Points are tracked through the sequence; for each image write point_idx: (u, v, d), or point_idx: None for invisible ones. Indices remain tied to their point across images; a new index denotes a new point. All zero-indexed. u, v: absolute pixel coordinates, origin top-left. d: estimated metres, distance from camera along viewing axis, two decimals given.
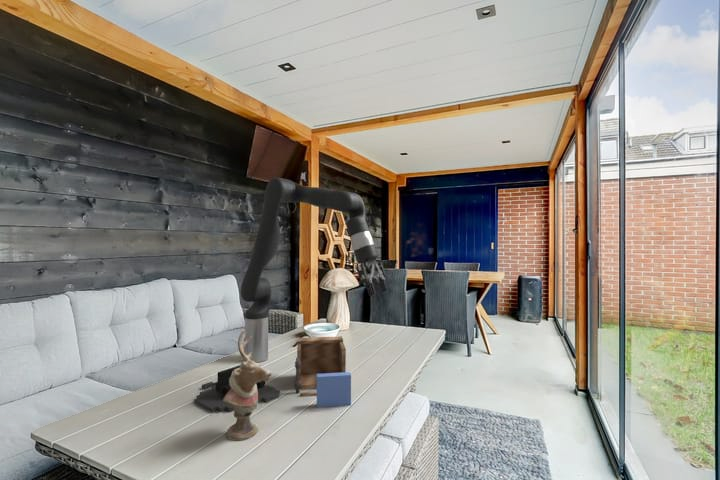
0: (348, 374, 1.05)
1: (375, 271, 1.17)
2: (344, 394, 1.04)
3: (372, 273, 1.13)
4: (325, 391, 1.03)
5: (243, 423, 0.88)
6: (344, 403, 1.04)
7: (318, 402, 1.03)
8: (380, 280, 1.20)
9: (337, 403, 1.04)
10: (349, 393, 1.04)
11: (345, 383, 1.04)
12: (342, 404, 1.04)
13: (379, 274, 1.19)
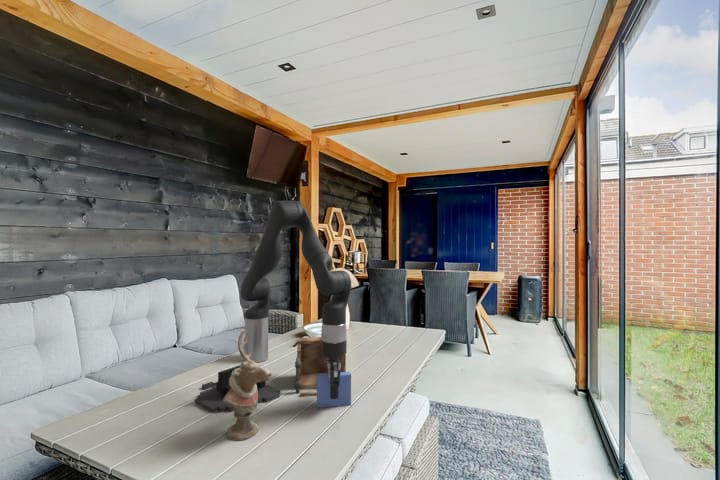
0: (348, 374, 1.05)
1: None
2: (344, 394, 1.04)
3: None
4: (325, 390, 1.03)
5: (243, 423, 0.88)
6: (344, 403, 1.04)
7: (318, 402, 1.03)
8: None
9: (337, 403, 1.04)
10: (349, 393, 1.04)
11: (345, 383, 1.04)
12: (342, 404, 1.04)
13: None
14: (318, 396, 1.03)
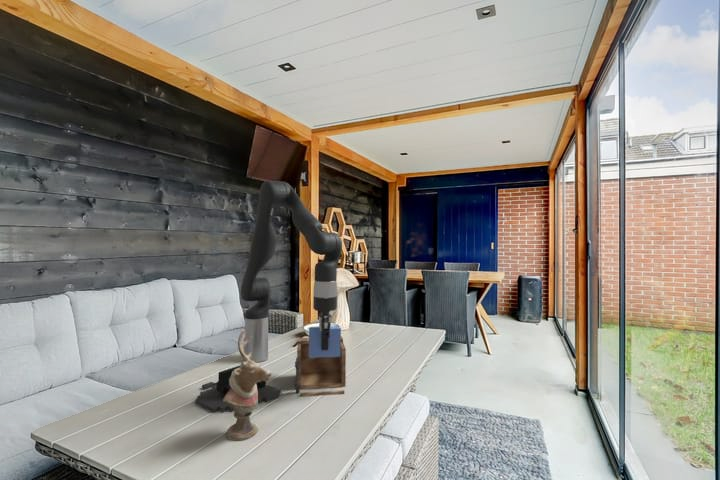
0: (338, 328, 1.13)
1: None
2: (334, 346, 1.12)
3: (330, 327, 1.12)
4: (317, 342, 1.11)
5: (243, 423, 0.88)
6: (334, 354, 1.12)
7: (310, 352, 1.11)
8: None
9: (327, 354, 1.12)
10: (339, 345, 1.12)
11: (335, 336, 1.12)
12: (332, 355, 1.12)
13: None
14: (310, 347, 1.11)
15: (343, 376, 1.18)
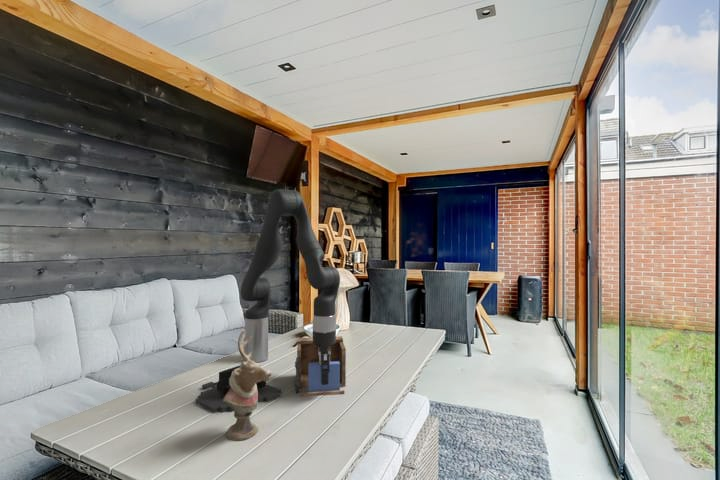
0: (337, 363, 1.14)
1: None
2: (333, 381, 1.14)
3: None
4: (316, 378, 1.13)
5: (243, 423, 0.88)
6: (333, 389, 1.14)
7: (309, 388, 1.12)
8: None
9: (327, 389, 1.13)
10: (338, 380, 1.14)
11: (334, 371, 1.14)
12: (331, 390, 1.13)
13: None
14: (309, 383, 1.12)
15: (343, 376, 1.18)
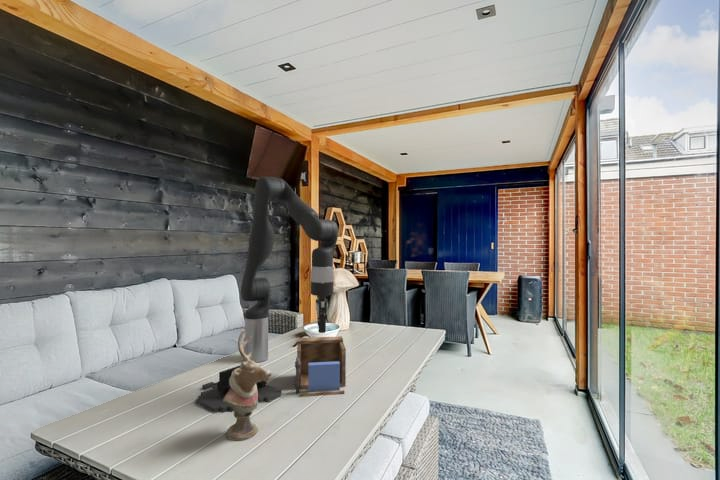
0: (337, 363, 1.14)
1: None
2: (333, 381, 1.14)
3: (327, 310, 1.13)
4: (316, 378, 1.13)
5: (243, 423, 0.88)
6: (333, 389, 1.14)
7: (309, 388, 1.12)
8: None
9: (327, 389, 1.13)
10: (338, 380, 1.14)
11: (334, 371, 1.14)
12: (331, 390, 1.13)
13: None
14: (309, 383, 1.12)
15: (343, 376, 1.18)
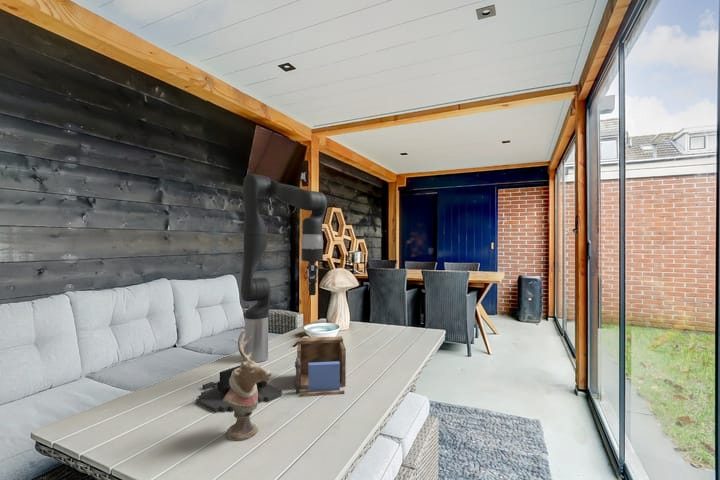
0: (337, 363, 1.14)
1: None
2: (333, 381, 1.14)
3: None
4: (316, 378, 1.13)
5: (243, 423, 0.88)
6: (333, 389, 1.14)
7: (309, 388, 1.12)
8: None
9: (327, 389, 1.13)
10: (338, 380, 1.14)
11: (334, 371, 1.14)
12: (331, 390, 1.13)
13: None
14: (309, 383, 1.12)
15: (343, 376, 1.18)
